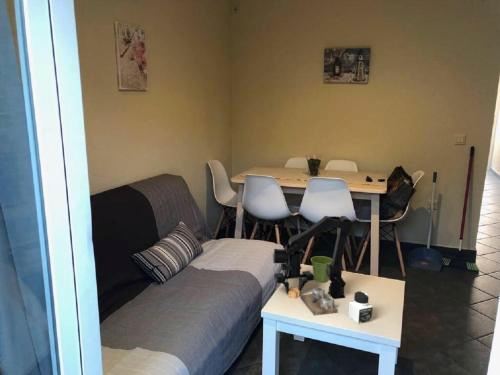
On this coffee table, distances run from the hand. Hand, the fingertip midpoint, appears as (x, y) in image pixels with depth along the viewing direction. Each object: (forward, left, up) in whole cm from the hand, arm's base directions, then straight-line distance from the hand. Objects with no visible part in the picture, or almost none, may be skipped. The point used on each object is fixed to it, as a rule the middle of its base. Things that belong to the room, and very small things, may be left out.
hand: (293, 293), depth 198 cm
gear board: (-8, +11, -1) cm, 14 cm away
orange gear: (0, 0, -1) cm, 1 cm away
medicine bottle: (-21, +27, -2) cm, 34 cm away
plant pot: (-21, -15, -2) cm, 26 cm away
